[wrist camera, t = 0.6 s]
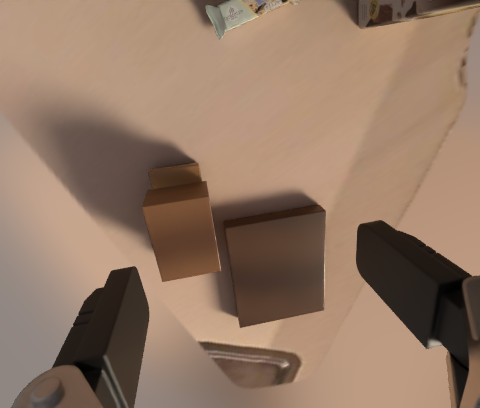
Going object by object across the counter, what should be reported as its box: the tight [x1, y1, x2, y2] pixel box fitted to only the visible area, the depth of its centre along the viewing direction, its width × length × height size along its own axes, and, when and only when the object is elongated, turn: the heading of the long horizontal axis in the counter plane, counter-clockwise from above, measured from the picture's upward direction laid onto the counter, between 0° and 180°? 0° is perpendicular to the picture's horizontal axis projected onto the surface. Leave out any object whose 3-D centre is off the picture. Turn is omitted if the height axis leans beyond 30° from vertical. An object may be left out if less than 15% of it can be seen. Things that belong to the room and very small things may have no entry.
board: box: [224, 205, 326, 328], centre depth 31 cm, size 13×10×2 cm
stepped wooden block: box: [142, 162, 221, 282], centre depth 26 cm, size 10×5×5 cm, turn 6°
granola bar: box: [205, 0, 299, 39], centre depth 21 cm, size 7×2×1 cm, turn 112°
